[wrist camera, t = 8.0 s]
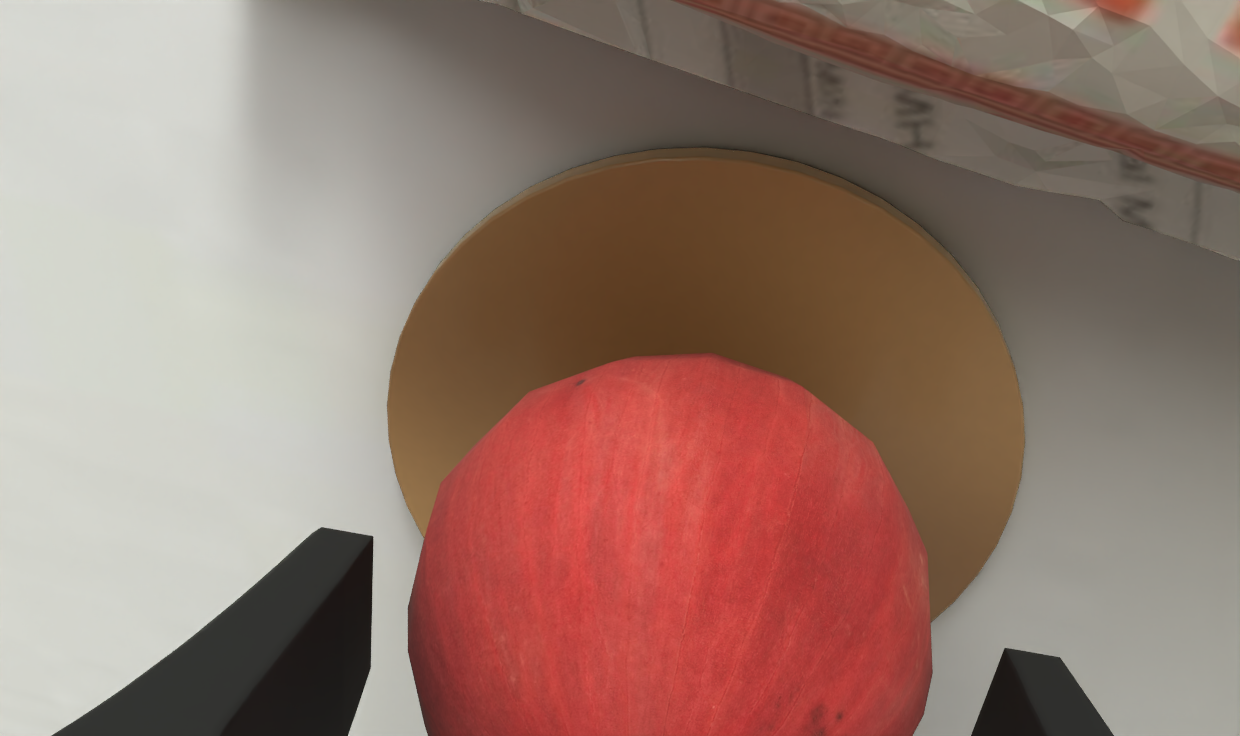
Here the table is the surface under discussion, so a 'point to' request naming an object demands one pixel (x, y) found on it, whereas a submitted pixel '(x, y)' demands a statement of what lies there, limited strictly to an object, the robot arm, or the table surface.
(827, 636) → the onion
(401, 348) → the coaster
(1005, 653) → the robot arm
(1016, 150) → the packaged product
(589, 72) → the table surface
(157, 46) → the table surface
